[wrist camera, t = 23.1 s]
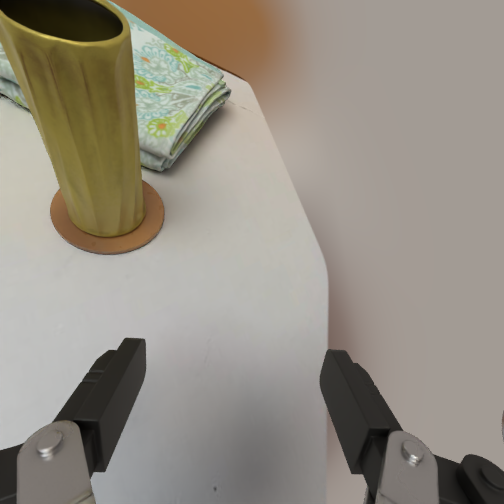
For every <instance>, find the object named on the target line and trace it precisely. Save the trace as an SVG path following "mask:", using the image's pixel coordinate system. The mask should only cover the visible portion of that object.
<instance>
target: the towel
mask: <svg viewBox="0 0 504 504" xmlns="http://www.w3.org/2000/svg"><path fill="white" fill-rule="evenodd" d="M106 1H108V2H109V3H111V4H112V5H113V6H114V7H116V8H117V9H118V10H119V11H120V12H122V13H123V14H124V16H125V17H126V18H127V20H128V22H129V25H130V31H131V41H132V50H133V62H134V77H135V98H136V111H137V122H138V135H139V147H140V160H141V165H142V166H145V167H147V168H150V169H155V170H157V171H160V172H162V171H163V170H164V169H165V168H170V167H171V166H172V164H173V162H175V160H176V159H177V158H178V156H179V155H180V154H181V152H182V151H183V150H184V149H185V148H186V147H187V145H188V144H189V143H190V142H191V141H192V139H193V138H194V137H195V136H196V135H197V133H198V132H199V131H200V129H201V128H202V127H203V125H204V123H205V122H206V121H207V119H208V118H209V117H210V115H211V114H212V113H213V112H215V111H217V109H218V108H219V107H222V106H223V105H224V104H225V101H226V100H227V99H228V98H229V97H230V94H231V89H229V88H227V86H226V83H225V82H224V81H222V80H221V79H222V78H223V77H224V75H223V73H222V72H221V71H220V70H218V69H217V68H215V67H214V66H212V65H210V64H208V63H206V62H204V61H202V60H200V59H199V58H197V57H195V56H194V55H193V54H191V53H189V52H188V51H186V50H185V49H183V48H181V47H180V46H178V45H177V44H175V43H174V42H173V41H171V40H170V39H168V38H167V37H165V36H164V35H163V34H161V33H159V32H158V31H157V30H155V29H154V28H152V27H151V26H149V25H147V24H146V23H144V22H143V21H141V20H140V19H138V18H137V17H135V16H134V15H132V14H131V13H129V12H128V11H126V10H124V9H122V8H121V7H119V6H118V5H116V4H114V3H112V2H111V1H109V0H106ZM0 93H2V94H4V95H6V96H8V97H9V98H10V99H11V100H13V101H14V102H16V103H18V104H20V105H22V106H24V107H26V108H28V109H29V107H28V105H27V102H26V100H25V97H24V95H23V93H22V90H21V88H20V86H19V83H18V81H17V79H16V76H15V74H14V72H13V70H12V67H11V65H10V63H9V61H8V59H7V56H6V54H5V52H4V49H3V47H2V45H1V42H0Z"/></svg>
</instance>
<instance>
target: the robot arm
mask: <svg viewBox="0 0 504 504" xmlns="http://www.w3.org/2000/svg"><path fill="white" fill-rule="evenodd" d="M145 373H146V342H145V339H141V338H125V339H124V340H123V341H122V343H121V345H120V346H119V348H118V349H117V350H108V351H107V352H106V353H104V354H103V355H102V356H101V357H99V358H98V359H97V360H96V361H95V363H94V364H93V366H92V367H91V368H90V370H89V373H87V374H86V376H85V377H84V378H83V380H82V382H81V383H80V384H79V385H78V387H77V388H76V390H75V391H74V392H73V394H72V395H71V397H70V398H69V400H68V401H67V402H66V404H65V405H64V407H63V408H62V409H61V411H60V412H59V414H58V415H57V417H56V418H55V419H54V421H53V422H52V423H51V424H48V425H46V426H44V427H43V428H41V429H39V430H38V431H36V432H35V433H34V434H33V435H32V436H30V437H29V438H28V439H27V441H26V442H25V443H23V444H20V445H17V446H14V447H11V448H7V449H3V450H0V504H96V501H95V497H94V493H93V491H92V487H91V482H90V479H91V477H92V475H93V472H105V471H106V469H107V466H108V464H109V461H110V459H111V457H112V454H113V452H114V450H115V447H116V445H117V443H118V440H119V438H120V436H121V433H122V431H123V429H124V426H125V424H126V422H127V419H128V417H129V414H130V412H131V410H132V407H133V405H134V403H135V400H136V398H137V396H138V393H139V391H140V389H141V386H142V384H143V381H144V378H145ZM320 388H321V392H322V394H323V397H324V400H325V403H326V405H327V408H328V411H329V414H330V416H331V419H332V422H333V425H334V427H335V430H336V433H337V436H338V438H339V441H340V444H341V446H342V449H343V452H344V455H345V457H346V460H347V463H348V465H349V468H350V471H351V474H363V475H364V478H365V480H366V483H367V485H368V486H367V489H366V493H365V498H364V503H363V504H504V471H502V470H501V469H500V468H499V467H498V466H496V465H495V464H493V463H492V462H490V461H489V460H487V459H485V458H483V457H480V456H477V455H472V454H469V455H466V456H465V457H464V458H463V460H462V462H461V463H460V464H459V463H456V462H454V461H451V460H448V459H445V458H442V457H439V456H436V455H434V454H432V452H431V451H430V450H429V448H428V447H427V446H426V445H425V444H424V443H423V442H422V441H421V440H419V439H418V438H417V437H415V436H413V435H411V434H410V433H407V432H404V431H403V429H402V428H401V426H400V424H399V423H398V421H397V420H396V418H395V416H394V415H393V413H392V411H391V410H390V408H389V407H388V405H387V403H386V402H385V400H384V398H383V397H382V395H380V392H379V390H378V389H377V387H376V386H375V385H374V382H373V381H372V379H371V377H370V376H369V374H368V373H367V372H366V371H365V370H364V369H363V368H362V367H361V366H360V365H359V364H358V363H353V362H352V360H351V358H350V357H349V355H348V354H347V352H346V351H345V350H331V349H328V350H327V352H326V355H325V359H324V362H323V366H322V370H321V373H320Z"/></svg>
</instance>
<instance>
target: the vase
mask: <svg viewBox="0 0 504 504" xmlns="http://www.w3.org/2000/svg"><path fill="white" fill-rule="evenodd" d="M0 42H1V45H2V47H3V49H4V52H5V54H6V56H7V59H8V61H9V63H10V65H11V67H12V70H13V72H14V74H15V76H16V79H17V81H18V83H19V86H20V88H21V90H22V93H23V95H24V97H25V100H26V102H27V105H28V107H29V109H30V112H31V114H32V116H33V118H34V120H35V122H36V125H37V127H38V130H39V132H40V134H41V137H42V139H43V142H44V145H45V147H46V150H47V152H48V155H49V157H50V159H51V162H52V165H53V168H54V171H55V174H56V177H57V180H58V183H59V186H60V189H61V192H62V195H63V198H64V200H65V203H66V206H67V210H68V215H69V218H70V219H71V221H72V222H73V223H74V224H75V225H76V226H77V227H78V228H80V229H81V230H83V231H85V232H87V233H90V234H92V235H96V236H101V237H114V236H120V235H123V234H126V233H129V232H130V231H132V230H134V229H135V228H136V227H138V226H139V225H140V223H141V222H142V220H143V218H144V217H145V214H146V204H145V200H144V198H143V190H142V173H141V160H140V147H139V135H138V122H137V111H136V98H135V77H134V62H133V50H132V41H131V31H130V25H129V22H128V20H127V18H126V17H125V16H124V14H123V13H122V12H120V11H119V10H118V9H117V8H116V7H114V6H113V5H112V4H111V3H109V2H108V1H106V0H0Z"/></svg>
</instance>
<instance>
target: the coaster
mask: <svg viewBox="0 0 504 504" xmlns="http://www.w3.org/2000/svg"><path fill="white" fill-rule="evenodd" d="M142 190H143V198H144V200H145V204H146V214H145V217H144V218H143V220H142V222H141V223H140V225H139V226H138V227H136V228H135V229H134V230H132V231H130V232H129V233H126V234H123V235H120V236H114V237H101V236H96V235H92V234H90V233H87V232H85V231H83V230H81V229H80V228H78V227H77V226H76V225H75V224H74V223H73V222H72V221H71V219H70V218H69V215H68V210H67V206H66V203H65V200H64V198H63V195H62V192H61V189H59V190H58V191H57V193H56V194H55V196H54V198H53V200H52V203H51V208H50V214H51V219H52V222H53V224H54V227H55V228H56V230H57V231H58V233H59V234H60V235H61V236H62V237H63V238H64V239H65V240H66V241H67V242H69V243H70V244H71V245H73V246H75V247H77V248H79V249H82V250H84V251H88V252H91V253H97V254H120V253H125V252H129V251H132V250H135V249H138V248H140V247H142V246H144V245H145V244H147V243H148V242H149V241H151V240H152V239H153V238H154V237H155V236H156V235H157V233H158V232H159V230H160V229H161V226H162V224H163V220H164V206H163V202H162V200H161V198H160V196H159V195H158V193H157V192H156V191H155V189H154V188H153V187H151V186H150V185H149V184H148V183H146V182H145V181H143V180H142Z"/></svg>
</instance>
